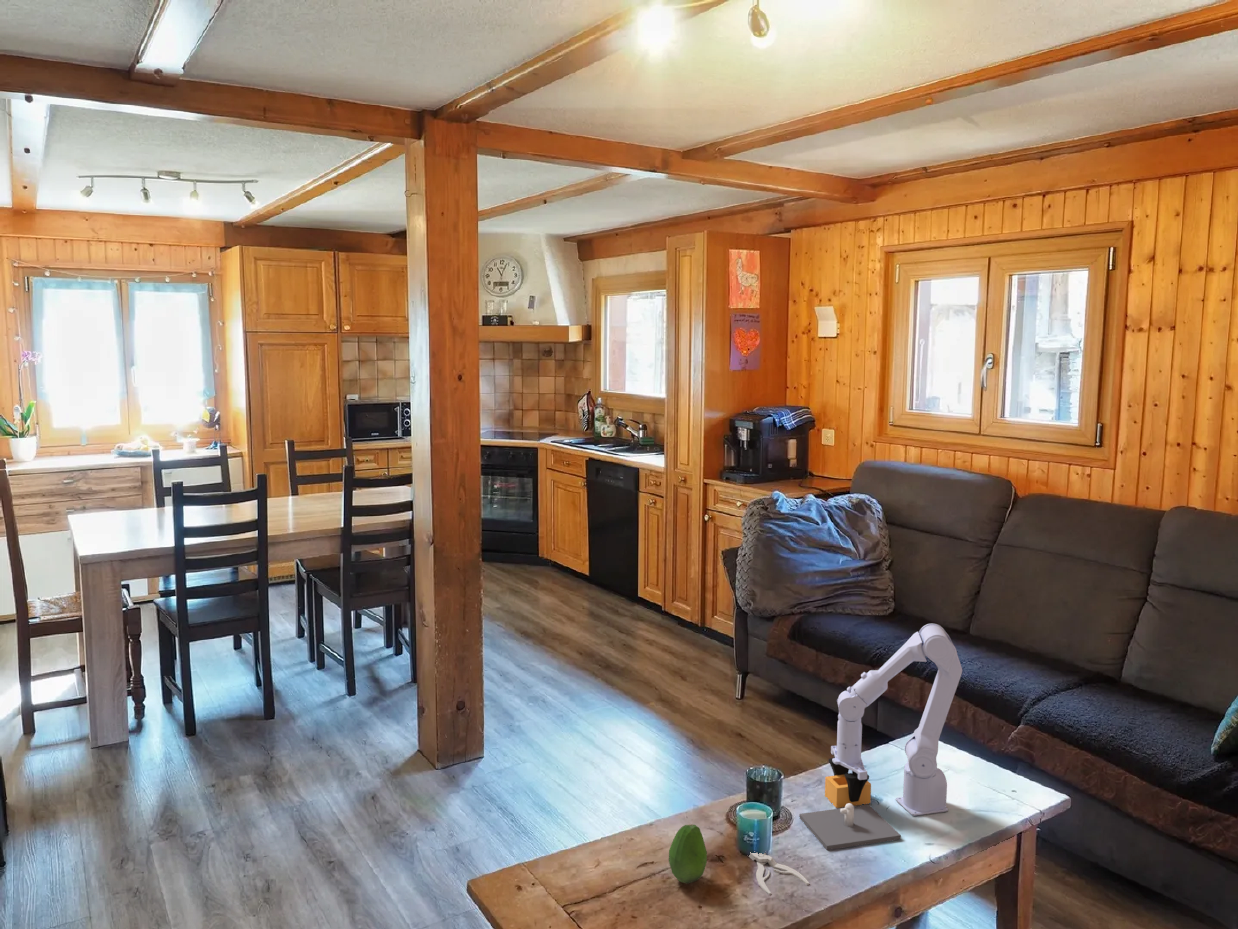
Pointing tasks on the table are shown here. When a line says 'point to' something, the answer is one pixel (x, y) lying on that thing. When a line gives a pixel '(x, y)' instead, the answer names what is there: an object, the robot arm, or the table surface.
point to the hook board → (849, 827)
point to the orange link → (844, 792)
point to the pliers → (765, 859)
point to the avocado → (688, 854)
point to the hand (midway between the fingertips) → (847, 794)
